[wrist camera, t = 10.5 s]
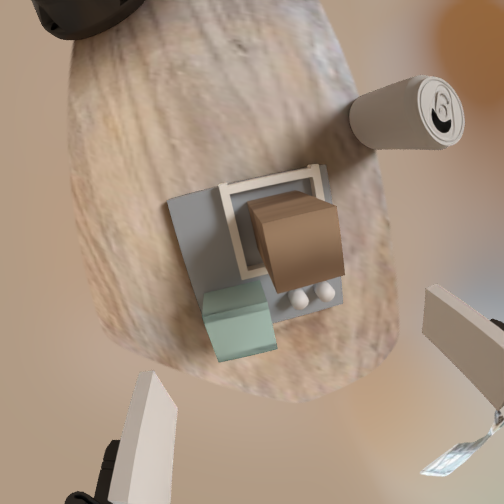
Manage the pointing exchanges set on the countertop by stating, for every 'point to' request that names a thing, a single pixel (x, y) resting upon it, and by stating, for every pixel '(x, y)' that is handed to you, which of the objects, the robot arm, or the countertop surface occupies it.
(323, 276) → the block
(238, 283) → the jig board
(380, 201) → the countertop surface
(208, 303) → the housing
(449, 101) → the beverage can
